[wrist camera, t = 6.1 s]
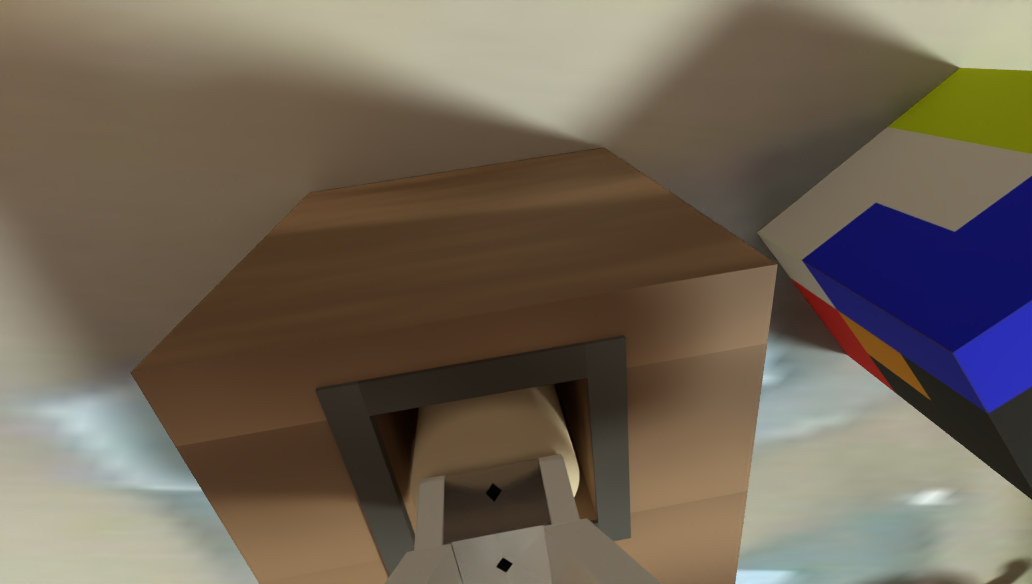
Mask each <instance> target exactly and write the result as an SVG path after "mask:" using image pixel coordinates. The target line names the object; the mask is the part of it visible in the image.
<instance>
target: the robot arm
mask: <svg viewBox="0 0 1032 584" xmlns="http://www.w3.org/2000/svg"><path fill="white" fill-rule="evenodd" d="M385 584H662V583H660V582H659V581H658V580H657V579H656V578H655V577H654V576H652V575H651V574H650V573H649V572H648V571H647V570H646V569H644V568H643V567H642V566H641V565H640V564H639V563H638V562H636V561H635V560H634V559H633V558H632V557H631V556H630V555H628V554H627V553H626V552H625V551H624V550H623V549H622V548H620V547H619V546H618V545H617V544H616V543H615V542H614V541H612V540H611V539H610V538H609V537H608V536H607V535H606V534H604V533H603V532H602V531H601V530H600V529H599V528H598V527H596V526H595V525H594V524H593V523H592V522H591V521H590V520H588V519H587V518H586V519H580V518H579V514H578V511H577V507H576V503H575V499H574V496H573V492H572V488H571V484H570V481H569V477H568V473H567V469H566V466H565V462H564V458H563V456H562V455H561V454H557V455H552V456H546V457H541V458H538V459H537V458H535V459H530V460H525V461H520V462H515V463H509V464H504V465H499V466H494V467H491V468H485V469H478V470H472V471H466V472H459V473H453V474H446V475H443V476H436V477H430V478H423V479H422V480H421V482H420V485H419V495H418V507H417V520H416V532H415V544H414V551H409V552H406V554H405V555H404V557H403V558H402V559H401V561H400V562H399V564H398V565H397V567H396V568H395V569H394V571H393V572H392V574H391V575H390V577H389V578H388V580H387V581H386V582H385Z"/></svg>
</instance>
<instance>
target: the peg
mask: <svg viewBox="0 0 1032 584" xmlns="http://www.w3.org/2000/svg"><path fill="white" fill-rule="evenodd" d="M557 454H561V455H562V456H563V458H564V462H565V466H566V469H567V473H568V477H569V481H570V484H571V488H572V492H573V496H574V497H575V495H576V492H577V489H578V485H579V468H578V463H577V460H576V457H575V453H574V450H573V446H572V443H571V440H570V436H569V433H568V430H567V426H566V423H565V419H564V416H563V413H562V409H561V406H560V402H559V399H558V396H557V392H556V389H555V386H554V384H550V385H544V386H538V387H533V388H527V389H521V390H516V391H510V392H504V393H498V394H493V395H487V396H481V397H475V398H470V399H464V400H458V401H453V402H447V403H441V404H435V405H430V406H424V407H419V409H418V419H417V429H416V439H415V449H414V459H413V469H412V479H411V497H412V501H413V504H414V506H415V509H416V511H417V507H418V495H419V485H420V482H421V480H422V479H423V478H430V477H436V476H443V475H446V474H453V473H459V472H466V471H472V470H478V469H485V468H491V467H494V466H499V465H504V464H509V463H515V462H520V461H525V460H530V459H535V458H537V459H538V458H541V457H546V456H552V455H557Z"/></svg>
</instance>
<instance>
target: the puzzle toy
mask: <svg viewBox="0 0 1032 584" xmlns="http://www.w3.org/2000/svg"><path fill="white" fill-rule="evenodd" d="M757 233H758V235H759V236H760V237H761V239H762V240H763V241H764V243H765V244H766V246H767V247H768V248H769V250H770V251H771V252H772V254H773V255H774V256H775V258H776V259H777V260H778V262H779V263H780V265H781V266H782V267H783V269H784V270H785V271H786V273H787V274H788V275H789V277H790V278H791V279H792V281H793V282H794V283H795V285H796V286H797V288H798V289H799V290H800V292H801V293H802V294H803V296H804V297H805V298H806V300H807V301H808V302H809V304H810V305H811V307H812V308H813V309H814V311H815V312H816V313H817V315H818V316H819V317H820V319H821V320H822V321H823V323H824V324H825V326H826V327H827V328H828V330H829V331H830V332H831V334H832V335H833V336H834V338H835V339H836V340H837V342H838V343H839V345H840V346H841V347H842V349H843V350H844V351H845V353H846V354H847V355H848V356H849V357H851V358H852V359H853V360H855V361H856V362H857V363H858V364H860V365H861V366H862V367H863V368H865V369H866V370H867V371H869V372H870V373H871V374H872V375H874V376H875V377H876V378H877V379H879V380H880V381H881V382H883V383H884V384H885V385H886V386H888V387H889V388H890V389H891V390H893V391H894V392H895V393H897V394H898V395H899V396H900V397H902V398H903V399H904V400H905V401H907V402H908V403H909V404H911V405H912V406H913V407H914V408H916V409H917V410H918V411H919V412H921V413H922V414H923V415H925V416H926V417H927V418H928V419H930V420H931V421H932V422H934V423H935V424H936V425H937V426H939V427H940V428H941V429H942V430H944V431H945V432H946V433H948V434H949V435H950V436H951V437H953V438H954V439H955V440H956V441H958V442H959V443H960V444H962V445H963V446H964V447H965V448H967V449H968V450H969V451H970V452H972V453H973V454H974V455H976V456H977V457H978V458H979V459H981V460H982V461H983V462H984V463H986V464H987V465H988V466H990V467H991V468H992V469H993V470H995V471H996V472H997V473H998V474H1000V475H1001V476H1002V477H1004V478H1005V479H1006V480H1007V481H1009V482H1010V483H1011V484H1013V485H1014V486H1015V487H1016V488H1018V489H1019V490H1020V491H1021V492H1023V493H1024V494H1025V495H1027V496H1028V497H1029V498H1030V499H1032V71H1022V70H998V69H974V68H959V69H958V70H957V71H956V72H954V73H953V74H952V75H951V76H950V77H948V78H947V79H946V80H945V81H943V82H942V83H941V84H940V85H938V86H937V87H936V88H935V89H934V90H932V91H931V92H930V93H929V94H927V95H926V96H925V97H924V98H922V99H921V100H920V101H919V102H918V103H916V104H915V105H914V106H913V107H911V108H910V109H909V110H908V111H906V112H905V113H904V114H903V115H901V116H900V117H899V118H898V119H897V120H895V121H894V122H893V123H892V124H890V125H889V126H888V127H887V128H885V129H884V130H883V131H882V132H881V133H879V134H878V135H877V136H876V137H874V138H873V139H872V140H871V141H869V142H868V143H867V144H866V145H865V146H863V147H862V148H861V149H860V150H858V151H857V152H856V153H855V154H853V155H852V156H851V157H850V158H849V159H847V160H846V161H845V162H844V163H842V164H841V165H840V166H839V167H837V168H836V169H835V170H834V171H832V172H831V173H830V174H829V175H828V176H826V177H825V178H824V179H823V180H821V181H820V182H819V183H818V184H816V185H815V186H814V187H813V188H812V189H810V190H809V191H808V192H807V193H805V194H804V195H803V196H802V197H800V198H799V199H798V200H797V201H796V202H794V203H793V204H792V205H791V206H789V207H788V208H787V209H786V210H784V211H783V212H782V213H781V214H779V215H778V216H777V217H776V218H775V219H773V220H772V221H771V222H770V223H768V224H767V225H766V226H765V227H763V228H762V229H761V230H760V231H759V232H757Z"/></svg>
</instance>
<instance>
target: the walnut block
mask: <svg viewBox="0 0 1032 584" xmlns="http://www.w3.org/2000/svg"><path fill="white" fill-rule="evenodd" d="M777 266H778V264H777V263H775V262H774V261H772V260H771V259H769V258H768V257H766V256H765V255H763V254H762V253H760V252H759V251H757V250H756V249H754V248H753V247H751V246H750V245H748V244H747V243H745V242H744V241H742V240H741V239H739V238H738V237H736V236H735V235H733V234H732V233H730V232H729V231H728V230H726V229H725V228H723V227H722V226H720V225H719V224H717V223H716V222H714V221H713V220H711V219H710V218H708V217H707V216H705V215H704V214H702V213H701V212H699V211H698V210H696V209H695V208H693V207H692V206H690V205H689V204H687V203H686V202H684V201H683V200H681V199H680V198H678V197H677V196H675V195H674V194H672V193H671V192H669V191H668V190H667V189H665V188H664V187H662V186H661V185H659V184H658V183H656V182H655V181H653V180H652V179H650V178H649V177H647V176H646V175H644V174H643V173H641V172H640V171H638V170H637V169H635V168H634V167H632V166H631V165H629V164H628V163H626V162H625V161H623V160H622V159H620V158H619V157H617V156H616V155H614V154H613V153H611V152H610V151H608V150H607V149H605V148H598V149H592V150H585V151H579V152H573V153H566V154H560V155H553V156H547V157H540V158H534V159H527V160H521V161H514V162H508V163H501V164H495V165H488V166H482V167H475V168H469V169H462V170H456V171H449V172H443V173H437V174H430V175H424V176H417V177H411V178H404V179H398V180H391V181H385V182H378V183H372V184H365V185H359V186H352V187H346V188H339V189H333V190H326V191H320V192H313V193H309V194H308V195H307V196H306V197H305V198H304V199H303V200H302V201H301V202H300V203H299V204H298V205H297V206H296V207H295V208H294V209H293V210H292V211H291V212H290V213H289V214H288V215H287V216H286V217H285V218H284V219H283V220H282V221H281V222H280V223H279V224H278V225H277V226H276V227H275V228H274V229H273V230H272V231H271V232H270V233H269V234H268V235H267V236H266V237H265V238H264V239H263V240H262V241H261V242H260V243H259V244H258V245H257V246H256V247H255V248H254V249H253V250H252V251H251V252H250V253H249V254H248V255H247V256H246V257H245V258H244V259H243V260H242V261H241V262H240V263H239V264H238V265H237V266H236V267H235V268H234V269H233V270H232V271H231V272H230V273H229V274H228V275H227V276H226V277H225V278H224V279H223V280H222V281H221V282H220V283H219V284H218V285H217V286H216V287H215V288H214V289H213V290H212V291H211V292H210V293H209V294H208V295H207V296H206V297H205V298H204V299H203V300H202V301H201V302H200V303H199V304H198V305H197V306H196V307H195V308H194V309H193V310H192V311H191V312H190V313H189V314H188V315H187V316H186V317H185V318H184V319H183V320H182V321H181V322H180V323H179V324H178V325H177V326H176V327H175V328H174V329H173V330H172V331H171V332H170V333H169V334H168V335H167V336H166V337H165V338H164V339H163V340H162V341H161V343H160V344H159V345H158V346H157V347H156V348H155V349H154V350H153V351H152V352H151V353H150V354H149V355H148V356H147V357H146V358H145V359H144V360H143V361H142V362H141V363H140V364H139V365H138V366H137V367H136V368H135V369H134V370H133V371H132V372H131V374H132V376H133V377H134V379H135V381H136V382H137V384H138V386H139V387H140V389H141V391H142V392H143V394H144V395H145V397H146V399H147V400H148V402H149V404H150V405H151V407H152V409H153V410H154V412H155V413H156V415H157V417H158V418H159V420H160V422H161V423H162V425H163V427H164V428H165V430H166V432H167V433H168V435H169V436H170V438H171V440H172V441H173V443H174V445H175V446H176V448H177V450H178V451H179V453H180V454H181V456H182V458H183V459H184V461H185V463H186V464H187V466H188V468H189V469H190V471H191V472H192V474H193V476H194V477H195V479H196V481H197V482H198V484H199V486H200V487H201V489H202V491H203V492H204V494H205V495H206V497H207V499H208V500H209V502H210V504H211V505H212V507H213V509H214V510H215V512H216V513H217V515H218V517H219V518H220V520H221V522H222V523H223V525H224V527H225V528H226V530H227V531H228V533H229V535H230V536H231V538H232V540H233V541H234V543H235V545H236V546H237V548H238V550H239V551H240V553H241V554H242V556H243V558H244V559H245V561H246V563H247V564H248V566H249V568H250V569H251V571H252V572H253V574H254V576H255V577H256V579H257V581H258V582H259V584H385V582H386V581H387V580H388V578H389V577H390V575H391V574H392V572H393V571H394V569H395V568H396V567H397V565H398V564H399V562H400V561H401V559H402V558H403V557H404V555H405V554H406V552H409V551H414V544H415V532H416V520H417V511H416V509H415V506H414V504H413V501H412V497H411V479H412V469H413V459H414V449H415V439H416V429H417V419H418V409H419V407H424V406H430V405H435V404H441V403H447V402H453V401H458V400H464V399H470V398H475V397H481V396H487V395H493V394H498V393H504V392H510V391H516V390H521V389H527V388H533V387H538V386H544V385H550V384H554V386H555V389H556V392H557V396H558V399H559V402H560V406H561V409H562V413H563V416H564V419H565V423H566V426H567V430H568V433H569V436H570V440H571V443H572V446H573V450H574V453H575V457H576V460H577V463H578V468H579V485H578V489H577V492H576V495H575V497H574V499H575V503H576V507H577V511H578V514H579V518H580V519H586V518H587V519H588V520H590V521H591V522H592V523H593V524H594V525H595V526H596V527H598V528H599V529H600V530H601V531H602V532H603V533H604V534H606V535H607V536H608V537H609V538H610V539H611V540H612V541H614V542H615V543H616V544H617V545H618V546H619V547H620V548H622V549H623V550H624V551H625V552H626V553H627V554H628V555H630V556H631V557H632V558H633V559H634V560H635V561H636V562H638V563H639V564H640V565H641V566H642V567H643V568H644V569H646V570H647V571H648V572H649V573H650V574H651V575H652V576H654V577H655V578H656V579H657V580H658V581H659V582H660V583H662V584H735V580H736V573H737V565H738V558H739V551H740V543H741V536H742V528H743V521H744V513H745V506H746V498H747V491H748V483H749V476H750V468H751V461H752V453H753V446H754V438H755V431H756V423H757V416H758V408H759V401H760V393H761V386H762V378H763V371H764V363H765V356H766V348H767V341H768V334H769V326H770V319H771V311H772V304H773V296H774V289H775V281H776V274H777Z"/></svg>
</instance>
